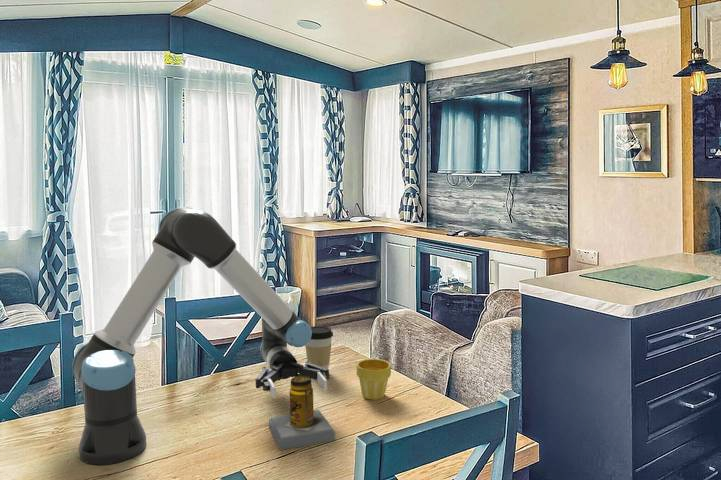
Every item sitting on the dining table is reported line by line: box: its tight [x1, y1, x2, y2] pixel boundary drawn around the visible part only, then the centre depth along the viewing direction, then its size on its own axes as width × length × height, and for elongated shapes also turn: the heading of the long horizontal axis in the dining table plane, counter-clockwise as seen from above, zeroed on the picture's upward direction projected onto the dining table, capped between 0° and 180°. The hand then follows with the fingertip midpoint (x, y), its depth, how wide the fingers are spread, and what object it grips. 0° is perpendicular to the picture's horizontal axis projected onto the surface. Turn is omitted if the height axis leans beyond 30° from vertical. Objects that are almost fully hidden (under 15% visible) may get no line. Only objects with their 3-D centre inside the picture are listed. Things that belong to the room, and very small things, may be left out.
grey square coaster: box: [268, 409, 336, 451], centre depth 150 cm, size 14×13×3 cm
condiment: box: [283, 376, 325, 431], centre depth 150 cm, size 7×8×12 cm
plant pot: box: [356, 358, 392, 401], centre depth 175 cm, size 10×10×10 cm
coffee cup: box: [304, 325, 334, 369], centre depth 193 cm, size 10×10×15 cm
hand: (300, 388), depth 150 cm, fingers open, 13 cm apart
